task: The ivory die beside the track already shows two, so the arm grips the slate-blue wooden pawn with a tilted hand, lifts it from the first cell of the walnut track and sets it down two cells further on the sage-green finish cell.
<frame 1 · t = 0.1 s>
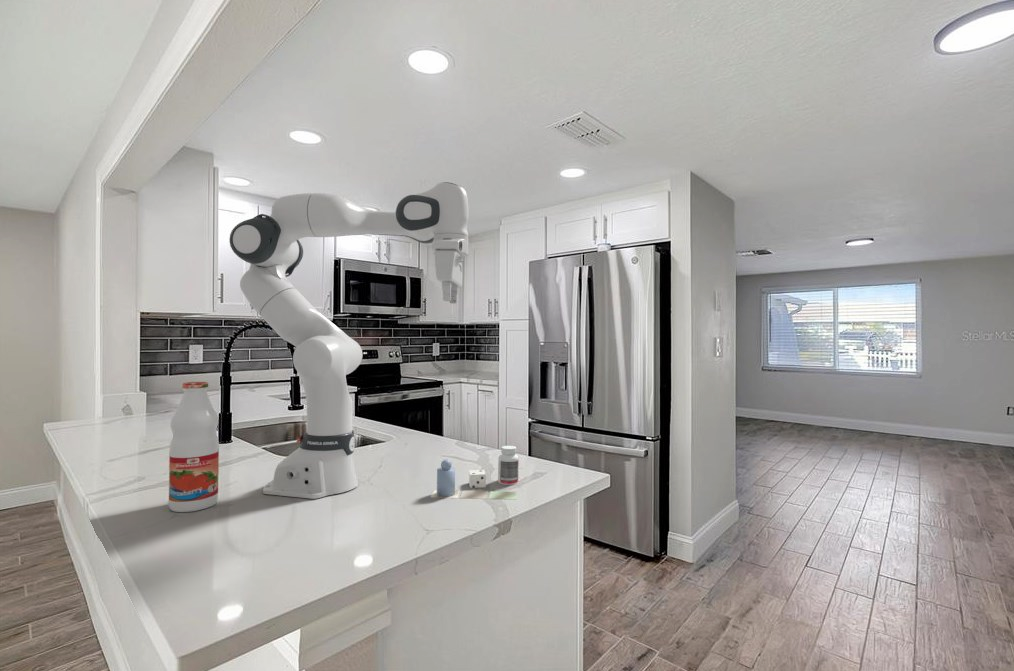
hand: (450, 302, 121), 48 cm above the counter, tool pointing down, fingers open, 8 cm apart
fruit juice: (194, 506, 108), on the counter
pill bottle: (508, 484, 126), on the counter
die: (477, 487, 123), on the counter
pawn: (445, 493, 116), point 1 cm above the counter, touching track
track: (474, 497, 116), on the counter
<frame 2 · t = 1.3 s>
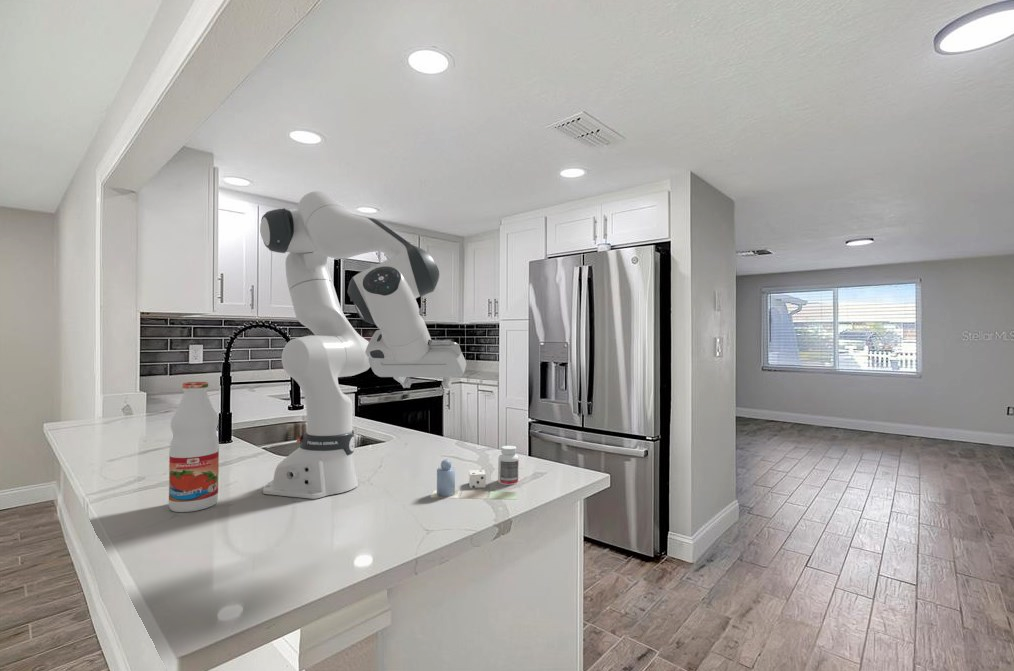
hand: (427, 385, 105), 28 cm above the counter, tool tilted 45°, fingers open, 8 cm apart
nothing on the counter moved.
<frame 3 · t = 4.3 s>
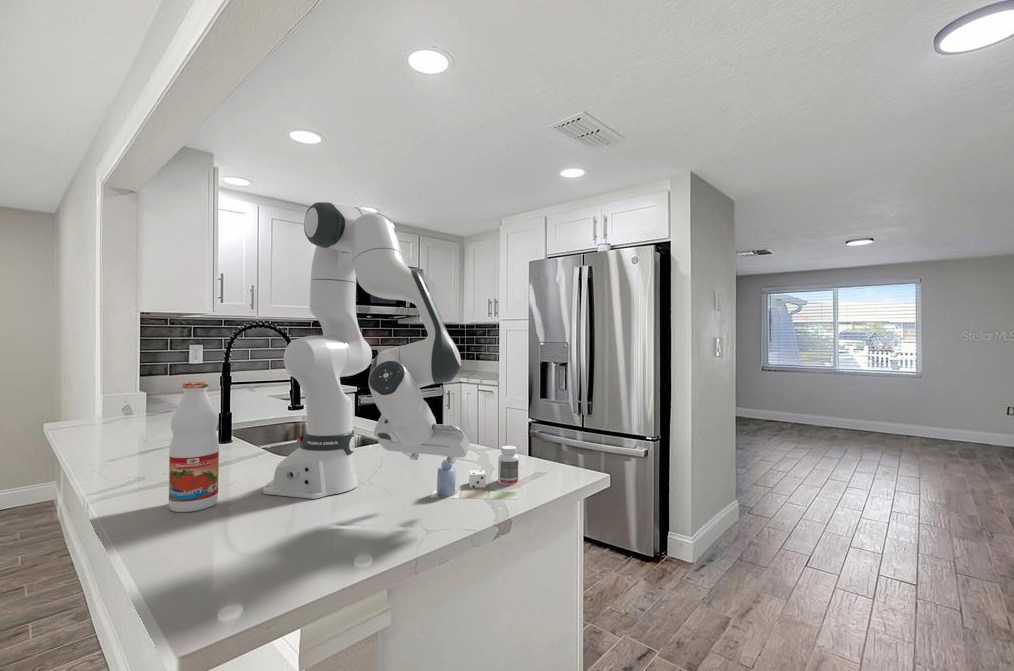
hand: (433, 458, 109), 11 cm above the counter, tool tilted 45°, fingers open, 8 cm apart
nothing on the counter moved.
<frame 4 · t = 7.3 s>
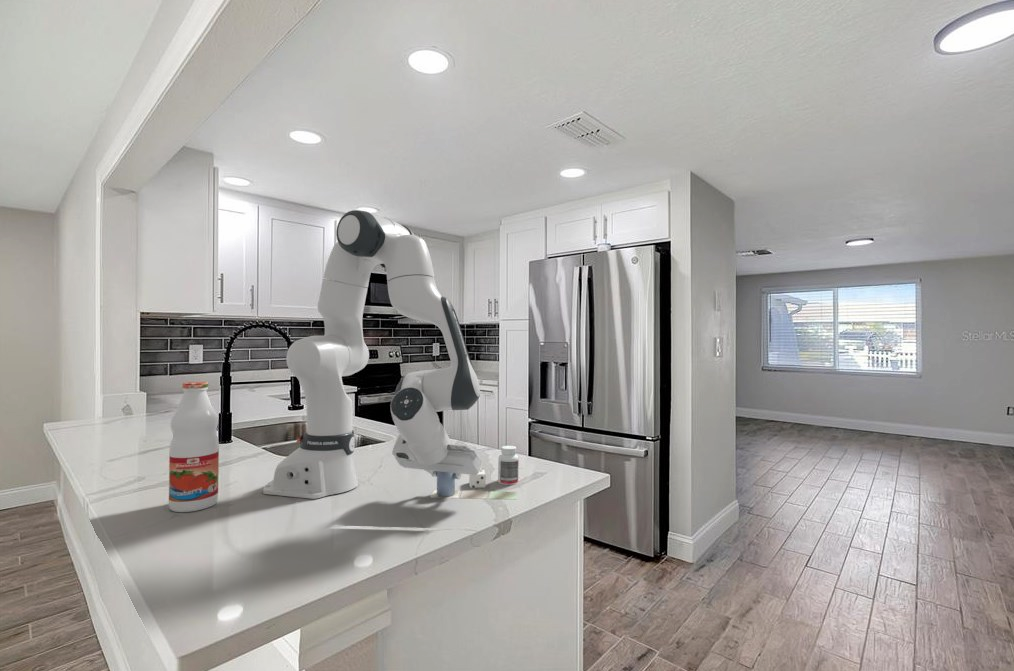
hand: (447, 475, 117), 5 cm above the counter, tool tilted 45°, fingers closed on pawn, 4 cm apart
pawn: (445, 493, 116), point 1 cm above the counter, touching gripper, track
everything else where it was.
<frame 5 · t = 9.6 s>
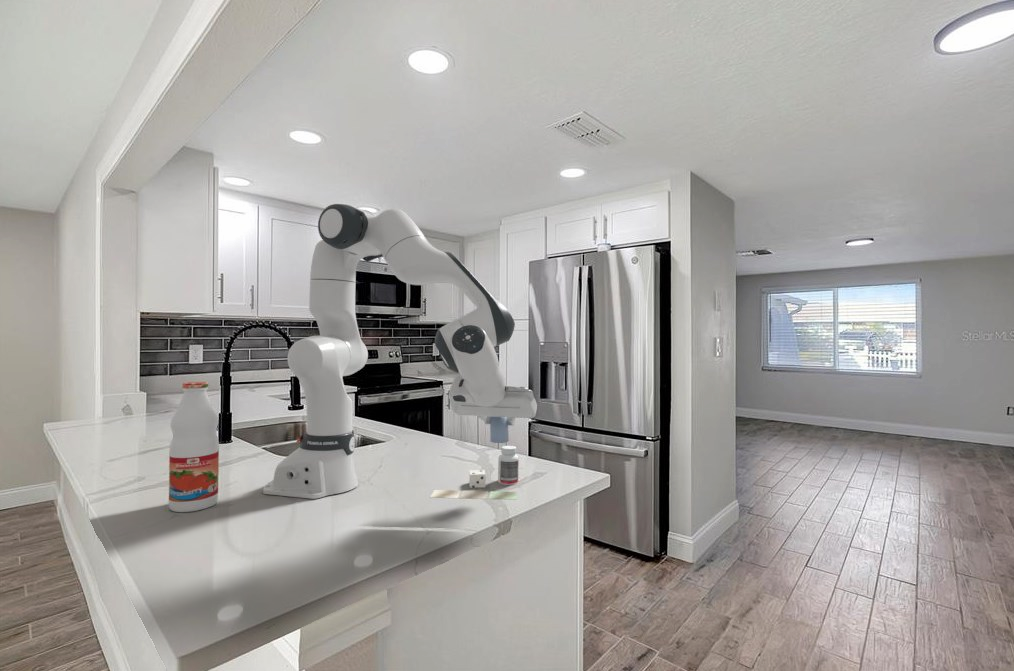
hand: (500, 422, 116), 18 cm above the counter, tool tilted 45°, fingers closed on pawn, 4 cm apart
pawn: (499, 440, 115), point 14 cm above the counter, touching gripper
everything else where it was.
when the fingers open (6 cm above the counter, at t = 12.2 s): pawn drops 1 cm, resting on track.
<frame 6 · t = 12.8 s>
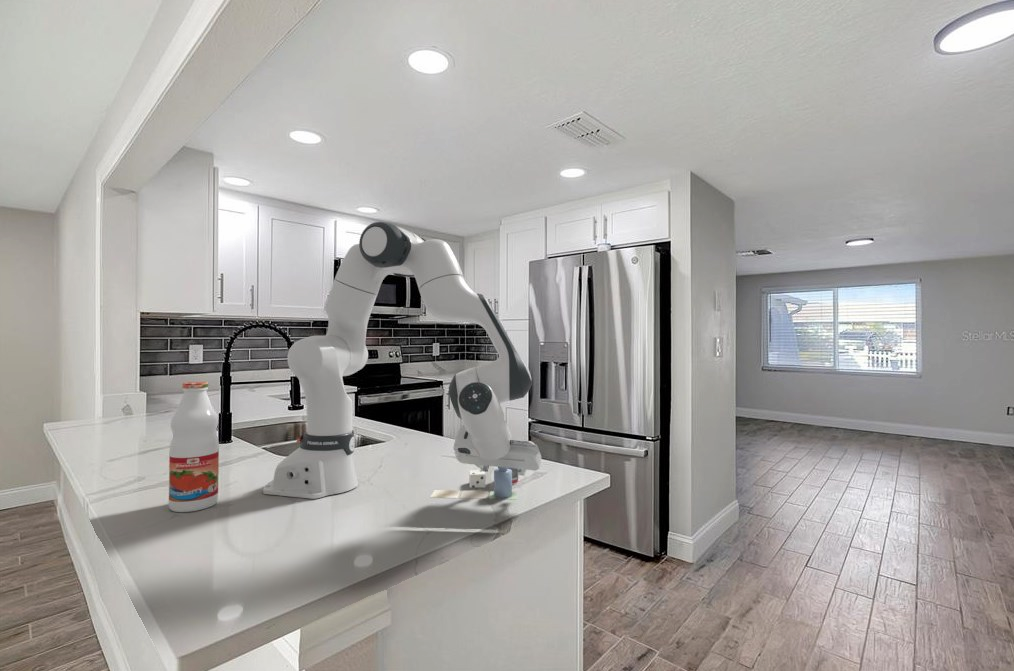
hand: (503, 470, 116), 6 cm above the counter, tool tilted 45°, fingers open, 8 cm apart
pawn: (502, 495, 115), point 1 cm above the counter, touching track
everything else where it was.
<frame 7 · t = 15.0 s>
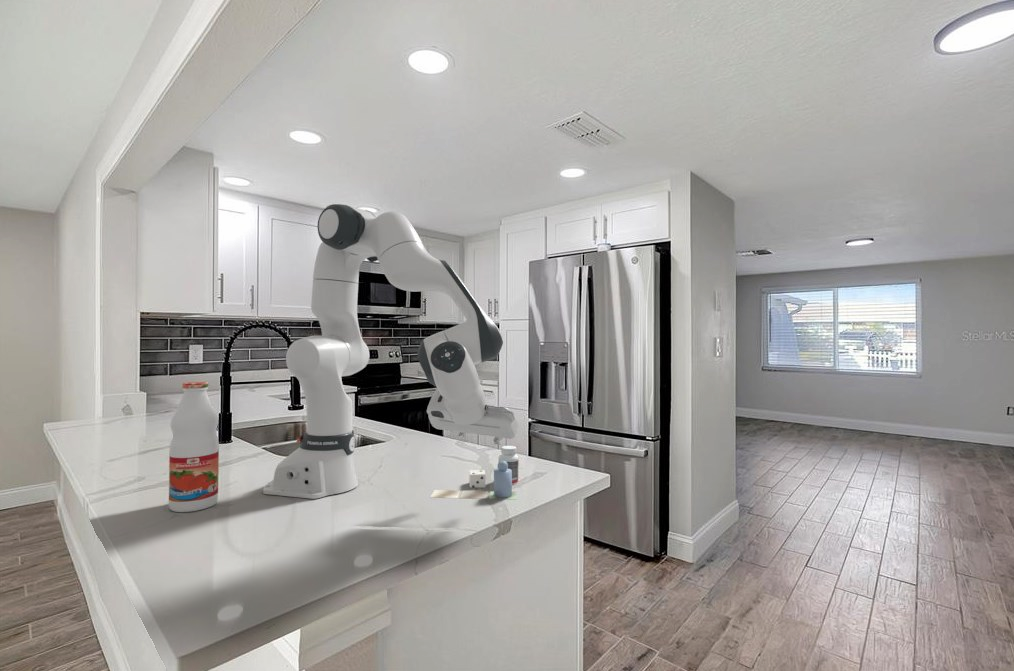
hand: (480, 439, 112), 15 cm above the counter, tool tilted 45°, fingers open, 8 cm apart
nothing on the counter moved.
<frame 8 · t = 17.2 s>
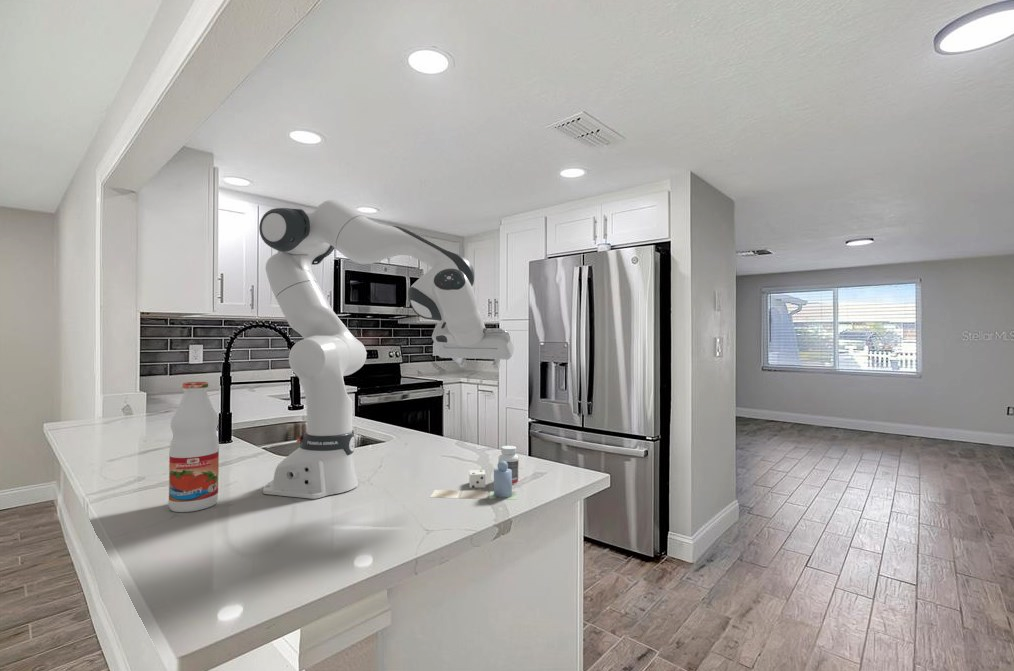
hand: (480, 366, 125), 31 cm above the counter, tool tilted 45°, fingers open, 8 cm apart
nothing on the counter moved.
at the end: pawn inside the target area (0.0 cm from its centre), point 0.6 cm above the counter; pawn tilted 1°; the gripper is holding nothing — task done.
